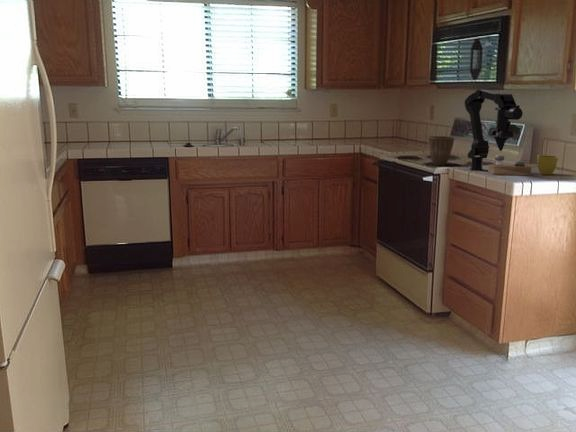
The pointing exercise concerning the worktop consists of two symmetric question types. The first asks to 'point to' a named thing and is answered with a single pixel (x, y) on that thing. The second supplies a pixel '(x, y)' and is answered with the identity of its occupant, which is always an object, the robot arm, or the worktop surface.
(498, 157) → the knob
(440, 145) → the plant pot
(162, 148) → the worktop surface
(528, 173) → the mount
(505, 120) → the robot arm
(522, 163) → the knob
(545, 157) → the flower pot
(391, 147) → the worktop surface
